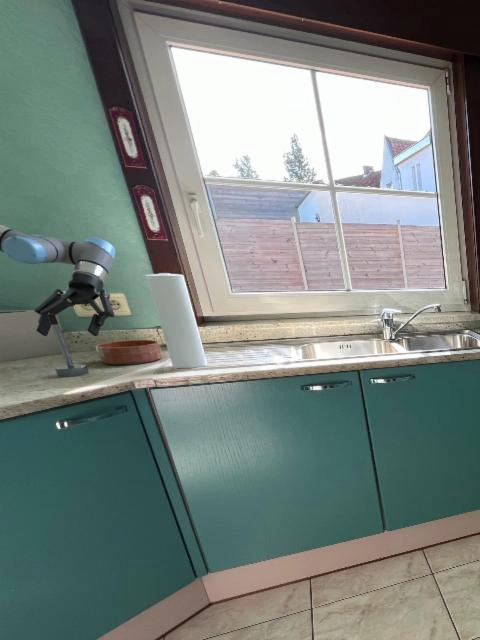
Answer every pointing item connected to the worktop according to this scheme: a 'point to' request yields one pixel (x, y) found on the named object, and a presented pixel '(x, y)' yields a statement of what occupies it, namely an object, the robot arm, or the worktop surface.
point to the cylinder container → (177, 320)
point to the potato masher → (66, 354)
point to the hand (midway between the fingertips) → (67, 333)
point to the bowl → (129, 352)
